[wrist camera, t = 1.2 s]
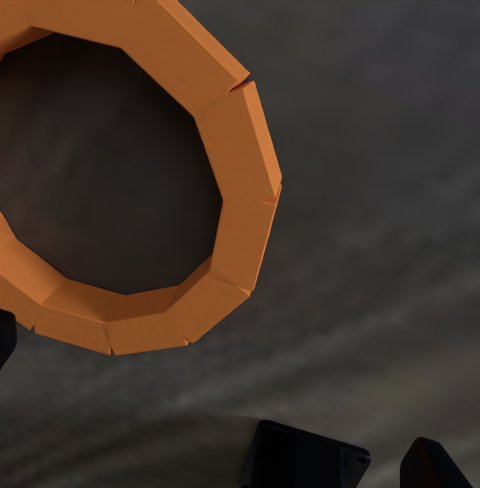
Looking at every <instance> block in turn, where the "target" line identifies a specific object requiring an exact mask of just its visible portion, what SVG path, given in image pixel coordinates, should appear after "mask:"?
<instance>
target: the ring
mask: <svg viewBox="0 0 480 488" xmlns="http://www.w3.org/2000/svg"><path fill="white" fill-rule="evenodd" d="M54 32H56V33H60V34H64V35H68V36H73V37H77V38H81V39H85V40H89V41H93V42H97V43H101V44H105V45H109V46H113V47H117V48H121V49H122V50H123V51H124V52H125V53H126V54H127V55H129V56H130V57H131V58H132V59H133V60H134V61H135V62H136V63H137V64H138V65H139V66H140V67H141V68H142V69H143V70H144V71H146V72H147V73H148V74H149V75H150V76H151V77H152V78H153V79H154V80H155V81H156V82H157V83H158V84H159V85H160V86H161V87H163V88H164V89H165V90H166V91H167V92H168V93H169V94H170V95H171V96H172V97H173V98H174V99H175V100H176V101H177V102H178V103H180V104H181V105H182V106H183V107H184V108H185V109H186V110H187V111H188V112H189V113H190V114H191V115H192V116H193V117H194V119H195V122H196V125H197V128H198V131H199V133H200V136H201V139H202V142H203V145H204V148H205V150H206V153H207V156H208V159H209V162H210V164H211V167H212V170H213V173H214V176H215V178H216V181H217V184H218V187H219V190H220V193H221V195H222V198H223V204H222V209H221V214H220V219H219V224H218V229H217V234H216V239H215V244H214V249H213V254H212V255H211V256H210V257H209V258H208V259H207V260H206V261H204V262H203V263H202V264H201V265H200V266H199V267H198V268H197V269H196V270H195V271H194V272H193V273H192V274H191V275H190V276H189V277H188V278H187V279H186V280H185V281H184V282H183V283H181V284H180V285H177V286H172V287H167V288H162V289H157V290H151V291H146V292H141V293H136V294H131V295H122V294H119V293H115V292H112V291H108V290H105V289H101V288H98V287H94V286H91V285H87V284H84V283H80V282H77V281H73V280H70V279H67V278H66V277H64V276H63V275H62V274H61V273H59V272H58V271H57V270H56V269H54V268H53V267H52V266H50V265H49V264H48V263H47V262H45V261H44V260H43V259H42V258H40V257H39V256H38V255H37V254H35V253H34V252H33V251H31V250H30V249H29V248H28V247H26V246H25V245H24V244H23V243H21V242H20V241H19V240H17V238H16V237H15V235H14V233H13V232H12V230H11V228H10V227H9V225H8V223H7V221H6V220H5V218H4V216H3V215H2V213H1V211H0V309H3V310H6V311H10V312H12V313H14V315H15V316H16V321H17V322H19V323H20V324H21V325H23V326H24V327H25V328H27V329H28V330H31V329H32V328H33V327H34V326H35V333H36V334H39V335H42V336H46V337H49V338H53V339H56V340H59V341H63V342H66V343H70V344H73V345H76V346H80V347H83V348H86V349H90V350H93V351H97V352H100V353H103V354H107V355H110V354H111V353H112V351H113V352H114V354H115V355H116V356H117V355H124V354H131V353H138V352H145V351H152V350H159V349H166V348H173V347H180V346H186V345H188V343H189V341H190V342H191V343H194V342H195V341H196V340H198V339H199V338H200V337H201V336H202V335H204V334H205V333H206V332H207V331H208V330H210V329H211V328H212V327H213V326H214V325H216V324H217V323H218V322H219V321H220V320H222V319H223V318H224V317H225V316H226V315H228V314H229V313H230V312H231V311H232V310H234V309H235V308H236V307H237V306H238V305H240V304H241V303H242V302H243V301H245V300H246V299H247V298H248V297H249V296H250V294H251V290H254V287H255V284H256V280H257V277H258V273H259V269H260V266H261V262H262V259H263V255H264V251H265V247H266V244H267V240H268V236H269V233H270V229H271V225H272V221H273V218H274V214H275V210H276V207H277V203H278V199H279V195H280V192H281V188H282V185H281V184H280V182H281V179H282V175H281V172H280V168H279V165H278V162H277V158H276V155H275V151H274V148H273V144H272V141H271V137H270V134H269V130H268V127H267V124H266V120H265V117H264V113H263V110H262V106H261V103H260V99H259V96H258V92H257V89H256V85H255V82H254V81H250V82H247V83H244V84H242V82H243V81H244V80H245V79H246V78H247V76H248V75H249V72H248V71H247V70H246V69H245V68H244V67H243V66H242V65H241V64H240V63H239V62H238V61H237V60H236V59H235V58H234V57H233V56H232V55H231V54H230V53H229V52H228V51H227V50H226V49H225V48H224V47H223V46H222V45H221V44H220V43H219V42H218V41H217V40H216V39H215V38H214V37H213V36H212V35H211V34H210V33H209V32H208V31H207V30H206V29H205V28H204V27H203V26H202V25H201V24H200V23H199V22H198V21H197V20H196V19H195V18H194V17H193V16H192V15H191V14H190V13H189V12H188V11H187V10H186V9H185V8H184V7H183V6H182V5H181V4H180V3H179V2H178V1H177V0H0V62H1V60H2V58H3V56H4V54H6V53H8V52H11V51H13V50H15V49H18V48H20V47H22V46H25V45H27V44H29V43H31V42H34V41H36V40H38V39H41V38H43V37H45V36H48V35H50V34H52V33H54Z"/></svg>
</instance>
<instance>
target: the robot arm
mask: <svg viewBox="0 0 480 488" xmlns="http://www.w3.org/2000/svg"><path fill="white" fill-rule="evenodd" d="M16 343H17V330H16V316H15V315H14V313H12V312H10V311H6V310H3V309H0V370H1V368H2V367H3V365H4V364H5V362H6V361H7V359H8V358H9V357H10V355H11V354H12V352H13V351H14V349H15V346H16ZM370 462H371V459H370V453H369V452H368V451H367V450H365V449H363V448H360V447H356V446H353V445H350V444H346V443H343V442H339V441H336V440H333V439H329V438H326V437H323V436H319V435H316V434H313V433H309V432H306V431H303V430H299V429H296V428H293V427H289V426H286V425H282V424H279V423H276V422H272V421H269V420H262V421H260V422H259V424H258V427H257V430H256V432H255V435H254V438H253V441H252V444H251V447H250V450H249V453H248V456H247V459H246V462H245V465H244V468H243V471H242V473H241V476H240V479H239V484H238V488H356V487H357V485H358V483H359V482H360V480H361V478H362V477H363V475H364V473H365V471H366V470H367V468H368V466H369V464H370ZM400 488H473V487H472V486H471V484H470V483H469V482H468V480H467V479H466V478H465V476H464V475H463V474H462V472H461V471H460V469H459V468H458V467H457V465H456V464H455V463H454V461H453V460H452V459H451V457H450V456H449V455H448V453H447V452H446V450H445V449H444V448H443V446H442V445H441V444H440V443H438V442H437V441H434V440H430V439H427V438H424V437H418V438H416V440H415V441H414V442H413V444H412V445H411V447H410V449H409V450H408V452H407V453H406V455H405V456H404V458H403V460H402V462H401V466H400Z"/></svg>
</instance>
